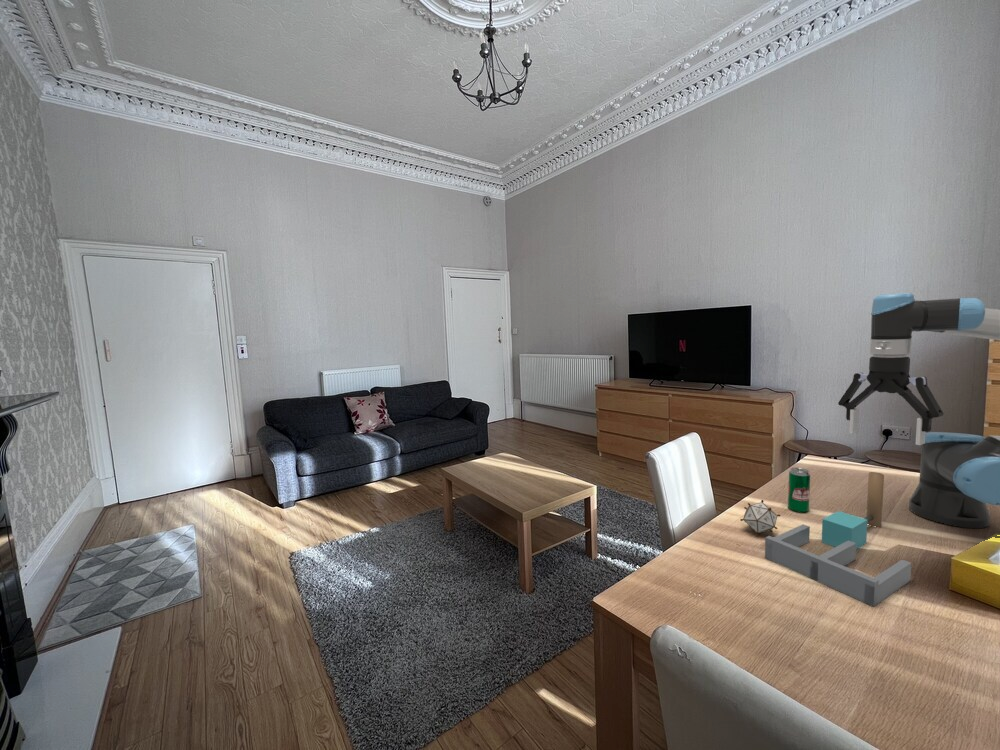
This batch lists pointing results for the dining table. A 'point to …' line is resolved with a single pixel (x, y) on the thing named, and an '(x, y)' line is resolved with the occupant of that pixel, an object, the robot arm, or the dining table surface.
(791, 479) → the soda can
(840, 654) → the dining table surface
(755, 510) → the game die
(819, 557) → the lane rack
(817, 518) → the dining table surface
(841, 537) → the teal block-headed stick
